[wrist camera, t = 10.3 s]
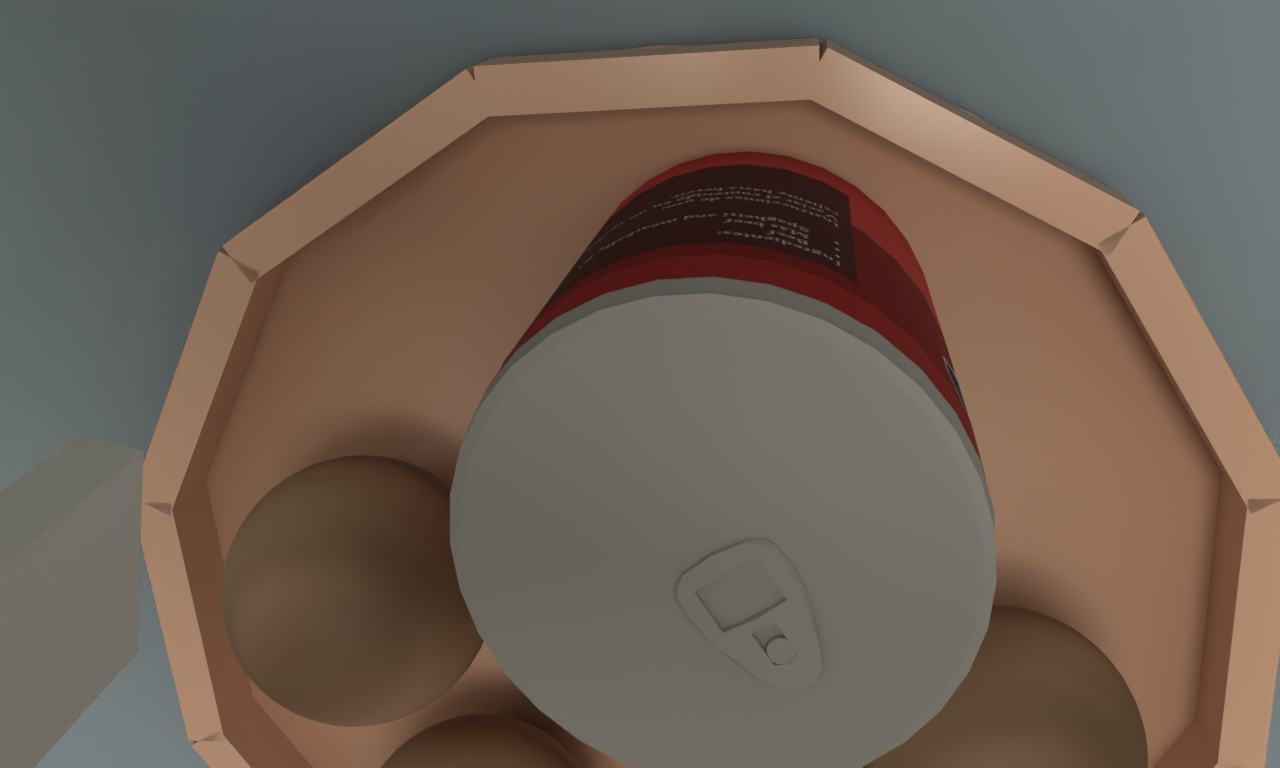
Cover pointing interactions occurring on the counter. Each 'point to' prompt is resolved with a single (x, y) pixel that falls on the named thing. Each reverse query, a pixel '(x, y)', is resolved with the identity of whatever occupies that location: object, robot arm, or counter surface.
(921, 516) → the canned food
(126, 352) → the counter surface
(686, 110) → the tray
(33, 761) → the robot arm
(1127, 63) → the counter surface
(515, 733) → the seated beads
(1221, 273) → the counter surface
